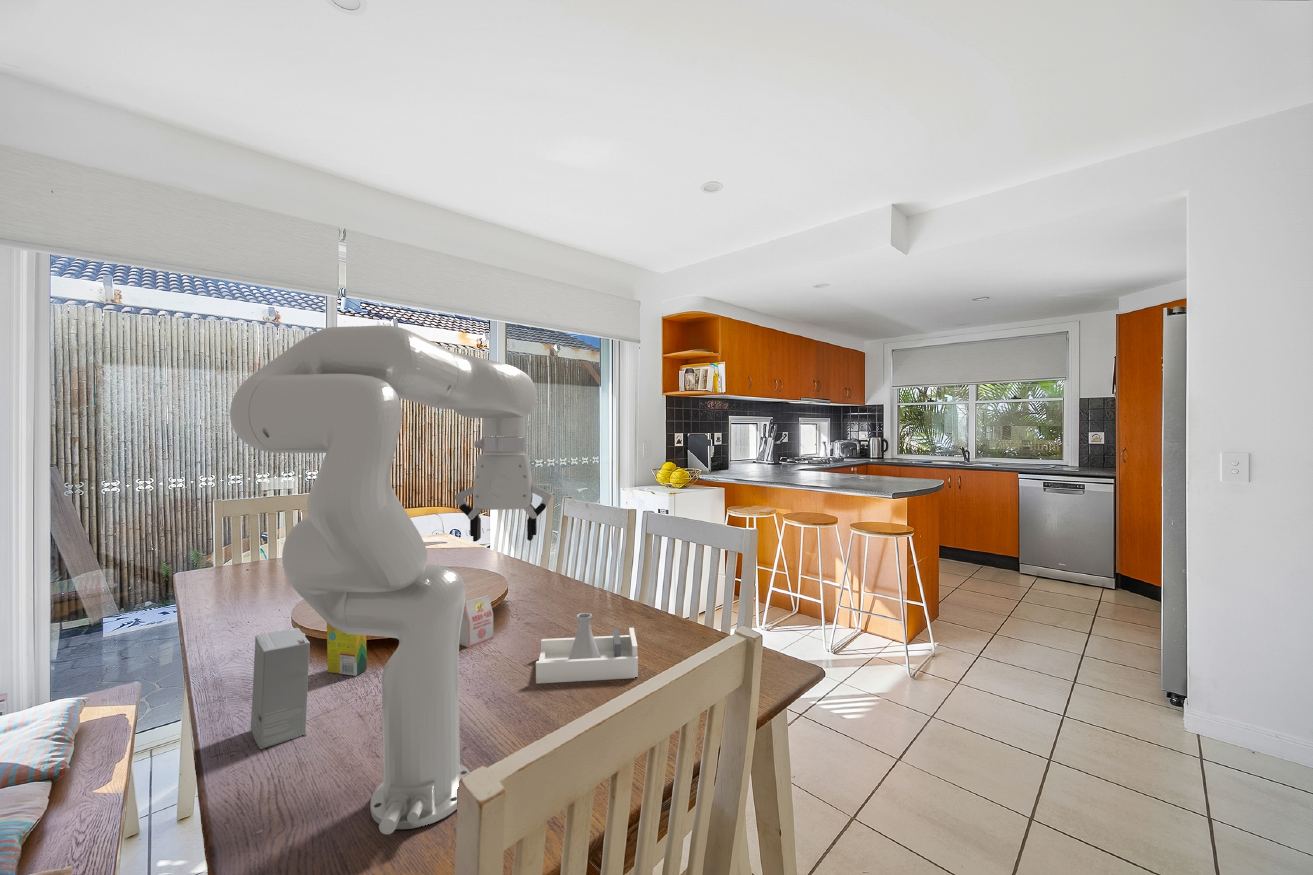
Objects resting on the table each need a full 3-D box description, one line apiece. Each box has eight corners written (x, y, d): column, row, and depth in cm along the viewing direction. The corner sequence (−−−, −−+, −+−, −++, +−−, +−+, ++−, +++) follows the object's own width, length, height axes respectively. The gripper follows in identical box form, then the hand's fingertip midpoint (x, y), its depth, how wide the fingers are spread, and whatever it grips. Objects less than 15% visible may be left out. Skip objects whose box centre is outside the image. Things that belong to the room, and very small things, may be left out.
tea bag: (458, 643, 125) (458, 600, 125) (484, 634, 131) (483, 593, 130) (468, 647, 123) (467, 604, 123) (493, 638, 128) (493, 596, 128)
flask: (595, 672, 109) (595, 622, 108) (561, 668, 110) (561, 620, 110) (606, 656, 116) (605, 610, 115) (573, 654, 117) (573, 608, 117)
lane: (637, 677, 108) (637, 648, 108) (535, 683, 106) (535, 653, 106) (633, 652, 120) (633, 625, 120) (541, 657, 118) (541, 629, 118)
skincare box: (249, 730, 90) (248, 635, 89) (300, 714, 95) (299, 624, 94) (259, 752, 84) (257, 650, 83) (312, 733, 89) (311, 638, 88)
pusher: (620, 668, 110) (620, 643, 109) (614, 668, 109) (614, 644, 109) (618, 650, 118) (618, 628, 118) (613, 651, 118) (613, 628, 118)
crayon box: (367, 670, 112) (366, 614, 111) (356, 676, 109) (355, 619, 109) (338, 666, 114) (338, 611, 113) (326, 672, 111) (325, 615, 111)
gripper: (449, 447, 95) (449, 544, 95) (549, 447, 97) (549, 542, 97) (460, 446, 103) (460, 536, 103) (553, 446, 105) (553, 535, 105)
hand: (503, 539), depth 100 cm, fingers open, 9 cm apart
